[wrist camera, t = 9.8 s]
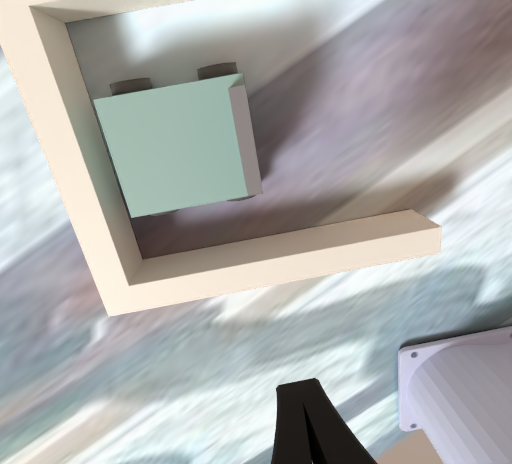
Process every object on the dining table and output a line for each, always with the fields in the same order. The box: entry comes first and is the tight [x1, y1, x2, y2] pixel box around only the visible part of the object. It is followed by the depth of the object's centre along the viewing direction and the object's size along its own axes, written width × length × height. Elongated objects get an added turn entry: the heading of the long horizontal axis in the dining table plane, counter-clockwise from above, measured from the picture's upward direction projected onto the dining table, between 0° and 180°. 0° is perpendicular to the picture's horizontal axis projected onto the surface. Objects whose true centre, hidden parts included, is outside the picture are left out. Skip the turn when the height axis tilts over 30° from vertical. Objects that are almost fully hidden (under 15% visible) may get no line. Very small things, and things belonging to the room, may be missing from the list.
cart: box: [93, 62, 263, 218], centre depth 15 cm, size 6×6×5 cm
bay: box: [0, 0, 442, 316], centre depth 16 cm, size 18×15×3 cm
